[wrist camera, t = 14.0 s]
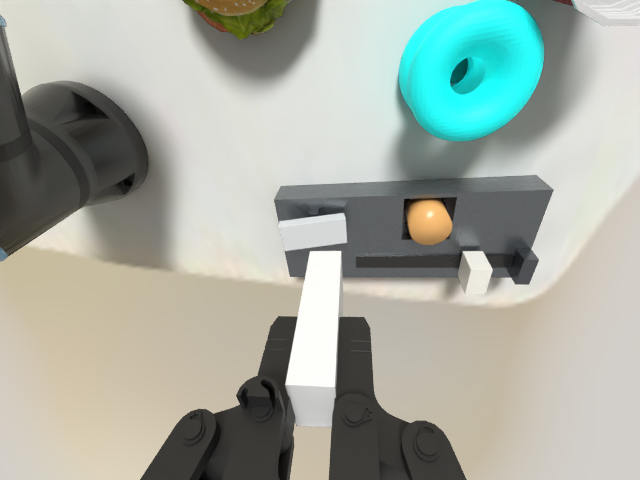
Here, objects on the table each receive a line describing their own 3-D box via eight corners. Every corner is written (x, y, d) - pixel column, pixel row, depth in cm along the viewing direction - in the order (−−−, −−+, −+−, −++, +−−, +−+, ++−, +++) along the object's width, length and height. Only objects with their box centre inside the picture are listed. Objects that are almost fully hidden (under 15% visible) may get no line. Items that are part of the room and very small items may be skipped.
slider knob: (457, 274, 41) (465, 293, 38) (462, 251, 38) (471, 269, 35) (476, 274, 40) (485, 294, 37) (482, 251, 38) (492, 269, 35)
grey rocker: (284, 244, 39) (284, 251, 37) (279, 221, 37) (279, 227, 35) (345, 236, 39) (347, 242, 38) (343, 212, 37) (345, 218, 36)
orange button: (403, 224, 41) (408, 245, 37) (406, 192, 38) (411, 211, 34) (440, 223, 40) (449, 244, 36) (445, 191, 37) (455, 210, 34)
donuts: (410, 153, 27) (408, 15, 21) (399, 124, 35) (395, 19, 29) (535, 136, 25) (569, -20, 19) (492, 109, 33) (507, -6, 27)
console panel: (294, 260, 48) (286, 287, 43) (281, 186, 41) (269, 209, 36) (508, 259, 44) (528, 290, 38) (536, 175, 36) (565, 199, 31)
